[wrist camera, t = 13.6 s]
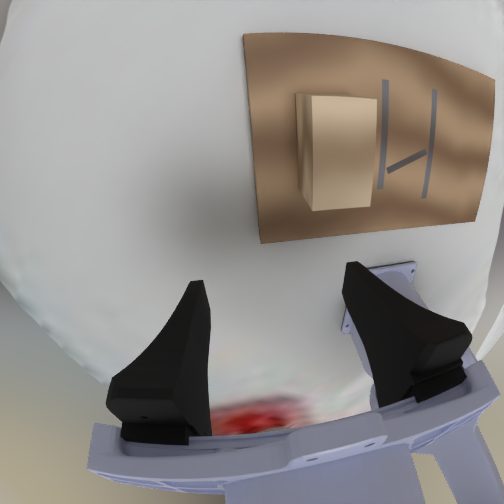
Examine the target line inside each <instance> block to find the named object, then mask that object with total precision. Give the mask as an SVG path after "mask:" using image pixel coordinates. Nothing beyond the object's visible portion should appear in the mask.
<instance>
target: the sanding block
mask: <svg viewBox="0 0 504 504" xmlns="http://www.w3.org/2000/svg"><path fill="white" fill-rule="evenodd" d="M295 112H296V136H297V173H298V189H299V190H300V192H301V194H302V195H303V197H304V198H305V200H306V201H307V203H308V205H309V206H310V208H311V210H312V211H320V210H332V209H344V208H357V207H370V203H371V195H372V185H373V174H374V162H375V147H376V124H377V99H373V98H368V97H362V96H356V95H350V94H331V93H295Z"/></svg>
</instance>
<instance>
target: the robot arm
mask: <svg viewBox="0 0 504 504" xmlns="http://www.w3.org/2000/svg"><path fill="white" fill-rule="evenodd" d="M416 269H417V264H416V263H415V262H410V263H404V264H398V265H392V266H385V267H379V268H373V269H367V268H366V267H364V266H363V265H362V264H361V263H359V262H358V261H355V262H348V263H346V270H345V277H344V283H343V289H342V295H343V298H344V301H345V304H346V312H345V316H344V321H343V325H342V330H341V331H342V333H343V334H346V333H350V334H351V336H352V339H353V341H354V344H355V346H356V349H357V351H358V354H359V357H360V359H361V362H362V364H363V367H364V369H365V371H366V372H367V374H368V375H369V376H371V377H372V378H373V380H374V384H373V385H372V387H371V391H370V406H371V409H372V411H368V412H365V413H361V414H358V415H354V416H350V417H346V418H342V419H338V420H334V421H330V422H325V423H320V424H315V425H310V426H305V427H299V428H293V429H287V430H281V431H272V432H264V433H255V434H244V435H230V436H212V430H211V420H210V409H209V394H208V355H209V343H210V331H211V316H210V307H209V303H208V299H207V295H206V291H205V287H204V282H203V280H198V281H191V282H190V283H189V284H188V287H187V289H186V291H185V293H184V294H183V296H182V298H181V300H180V302H179V304H178V305H177V307H176V309H175V311H174V312H173V314H172V315H171V317H170V319H169V320H168V322H167V323H166V325H165V326H164V327H163V329H162V330H161V332H160V333H159V334H158V335H157V337H156V338H155V339H154V340H153V341H152V343H151V344H150V345H149V346H148V347H147V348H146V349H145V350H144V351H143V352H142V353H141V354H140V355H139V356H138V357H137V358H136V359H135V360H134V361H133V362H132V363H131V364H129V365H128V366H127V367H126V368H124V369H123V370H122V371H120V372H119V373H118V374H116V375H115V376H114V377H112V380H111V383H110V386H109V390H108V395H107V399H106V406H107V408H108V409H109V410H110V412H112V413H113V414H114V415H115V416H116V417H117V418H118V419H119V420H121V421H122V428H120V427H117V426H112V425H106V424H99V423H95V424H94V427H93V432H92V438H91V444H90V450H89V457H88V464H87V469H88V470H89V471H91V472H93V473H95V474H97V475H100V476H103V477H105V478H107V479H109V480H112V481H114V482H119V483H123V484H129V485H134V486H140V487H146V488H153V489H160V490H168V491H177V492H187V493H202V494H225V501H226V504H425V500H424V496H423V493H422V489H421V486H420V482H419V479H418V476H417V472H416V469H415V466H414V462H413V459H412V456H411V453H420V454H430V455H433V456H434V457H435V459H436V461H437V463H438V465H439V467H440V469H441V471H442V473H443V475H444V477H445V479H446V481H447V483H448V485H449V487H450V489H451V491H452V493H453V495H454V497H455V499H456V501H457V503H458V504H504V485H503V483H502V480H501V477H500V475H499V472H498V470H497V467H496V465H495V462H494V460H493V458H492V455H491V453H490V451H489V449H488V447H487V445H486V442H485V440H484V438H483V436H482V434H481V432H480V430H479V428H478V426H477V423H478V421H479V419H480V416H481V414H482V413H483V411H484V410H486V409H487V408H488V407H489V406H490V405H491V404H492V403H493V402H494V401H495V400H497V399H498V398H499V397H500V395H501V394H500V392H499V390H498V388H497V386H496V385H495V383H494V381H493V379H492V377H491V375H490V373H489V371H488V370H487V368H486V366H485V364H484V363H483V361H482V360H480V361H477V359H476V358H475V356H474V354H473V353H472V351H471V349H470V348H469V345H470V343H471V341H472V334H471V333H470V331H469V330H468V328H467V327H466V325H465V324H464V323H463V322H459V321H456V320H453V319H449V318H447V317H444V316H441V315H439V314H436V313H434V312H432V311H430V310H429V309H428V308H427V306H426V305H425V303H424V302H423V300H422V299H421V298H420V296H419V295H418V293H417V292H416V290H415V289H414V287H413V286H412V285H411V284H412V281H413V278H414V275H415V272H416Z"/></svg>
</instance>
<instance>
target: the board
mask: <svg viewBox="0 0 504 504" xmlns="http://www.w3.org/2000/svg"><path fill="white" fill-rule="evenodd" d="M243 45H244V56H245V67H246V78H247V89H248V101H249V112H250V124H251V135H252V147H253V159H254V172H255V184H256V197H257V209H258V222H259V235H260V241H261V244H265V243H274V242H283V241H292V240H301V239H310V238H319V237H328V236H338V235H347V234H356V233H366V232H375V231H385V230H395V229H404V228H414V227H424V226H434V225H444V224H454V223H465V222H475V219H476V215H477V212H478V208H479V204H480V200H481V196H482V192H483V187H484V182H485V178H486V172H487V167H488V161H489V155H490V148H491V140H492V131H493V120H494V104H495V80H494V79H492V78H490V77H488V76H486V75H483V74H481V73H479V72H477V71H474V70H472V69H469V68H467V67H464V66H462V65H459V64H456V63H454V62H451V61H448V60H445V59H442V58H439V57H436V56H433V55H430V54H426V53H423V52H420V51H416V50H412V49H408V48H404V47H400V46H396V45H391V44H387V43H382V42H377V41H371V40H365V39H359V38H352V37H344V36H335V35H325V34H310V33H250V34H244V35H243ZM295 93H331V94H350V95H356V96H362V97H368V98H373V99H377V124H376V147H375V162H374V174H373V185H372V195H371V203H370V207H357V208H344V209H332V210H320V211H312V210H311V208H310V206H309V205H308V203H307V201H306V200H305V198H304V197H303V195H302V194H301V192H300V190H299V189H298V173H297V136H296V112H295Z"/></svg>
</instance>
